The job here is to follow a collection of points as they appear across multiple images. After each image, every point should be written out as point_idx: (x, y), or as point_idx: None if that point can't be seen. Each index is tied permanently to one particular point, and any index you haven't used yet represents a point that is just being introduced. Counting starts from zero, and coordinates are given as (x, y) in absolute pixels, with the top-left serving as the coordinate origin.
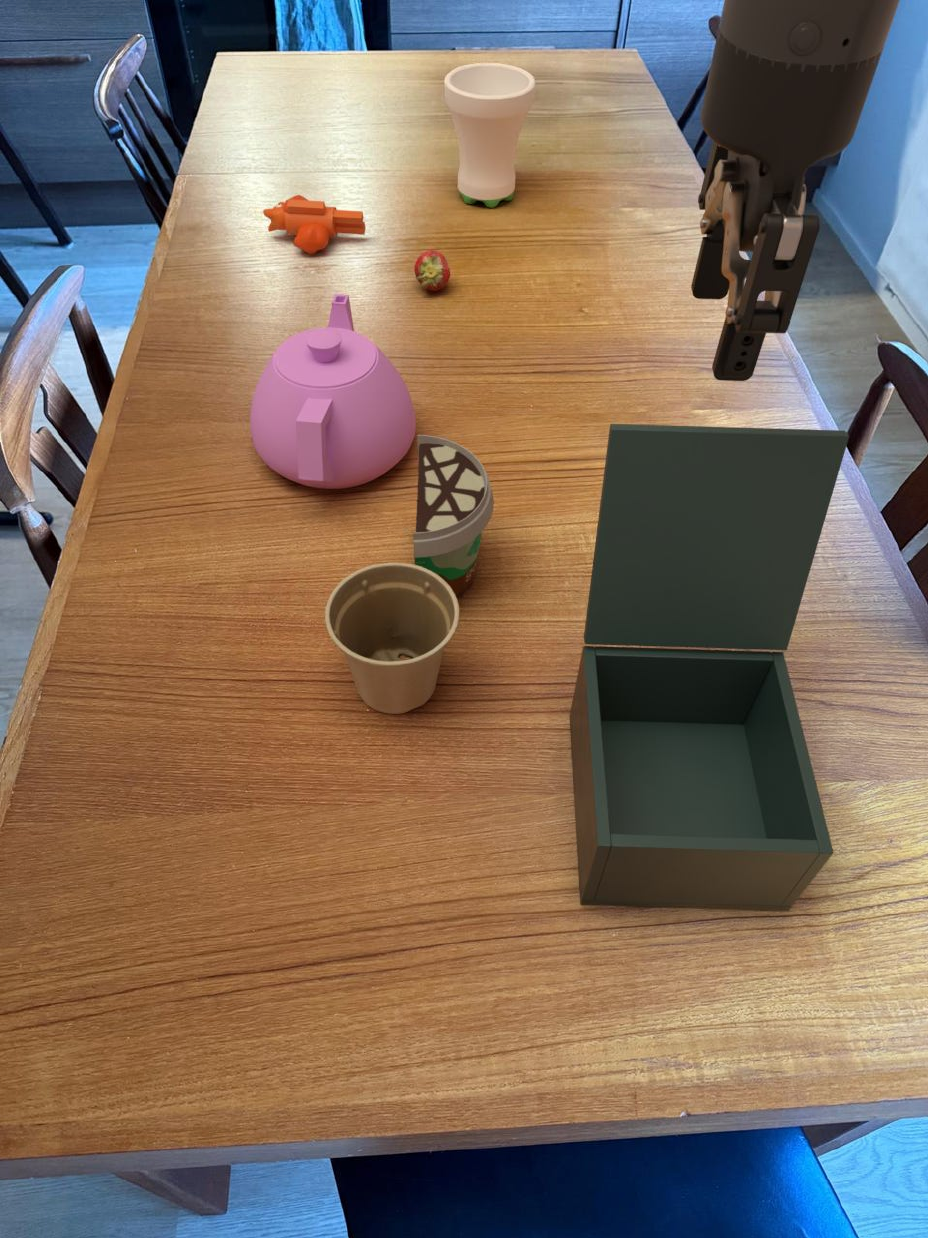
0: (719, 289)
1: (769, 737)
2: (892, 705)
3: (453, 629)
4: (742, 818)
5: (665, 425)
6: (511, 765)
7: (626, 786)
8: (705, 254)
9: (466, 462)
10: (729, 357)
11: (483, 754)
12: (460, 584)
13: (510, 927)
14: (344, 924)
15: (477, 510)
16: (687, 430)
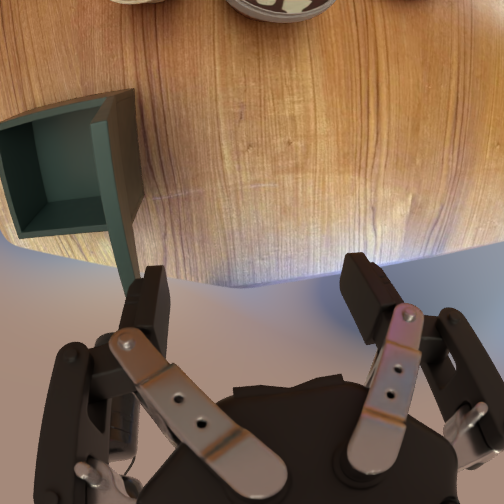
0: (345, 286)
1: (98, 210)
2: (169, 266)
3: (123, 2)
4: (79, 188)
5: (115, 190)
6: (97, 58)
7: (85, 126)
8: (371, 296)
9: (318, 2)
10: (127, 300)
11: (103, 41)
12: (235, 8)
13: (16, 79)
14: (14, 6)
15: (249, 4)
16: (106, 215)
